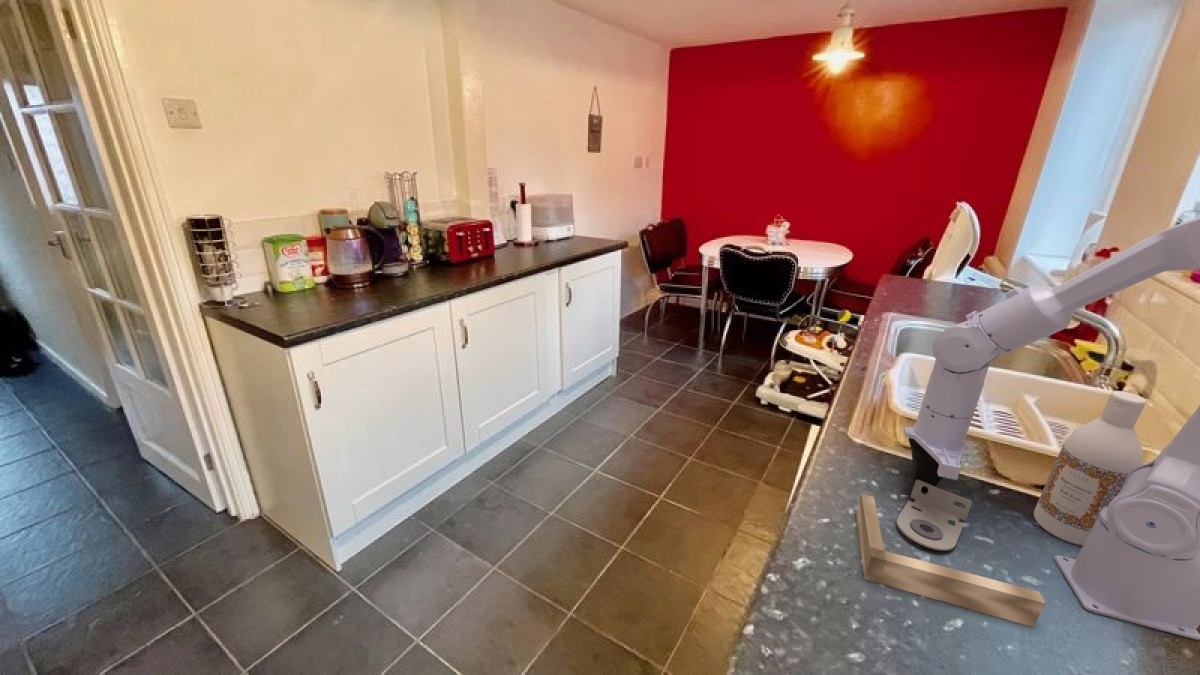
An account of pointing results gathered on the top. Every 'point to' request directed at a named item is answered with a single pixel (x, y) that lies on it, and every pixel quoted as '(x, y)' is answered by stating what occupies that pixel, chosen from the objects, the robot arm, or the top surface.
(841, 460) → the top surface
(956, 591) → the l-shaped wooden block
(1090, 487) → the bath foam
